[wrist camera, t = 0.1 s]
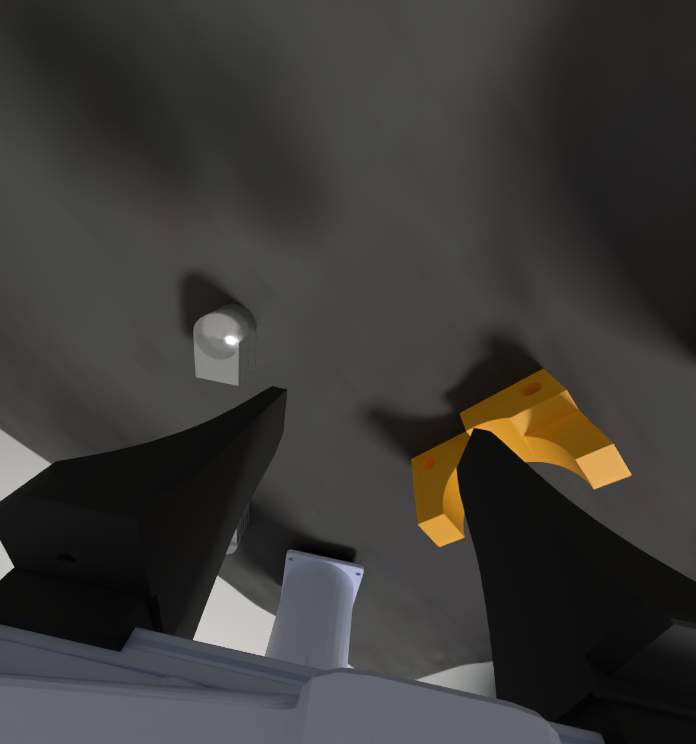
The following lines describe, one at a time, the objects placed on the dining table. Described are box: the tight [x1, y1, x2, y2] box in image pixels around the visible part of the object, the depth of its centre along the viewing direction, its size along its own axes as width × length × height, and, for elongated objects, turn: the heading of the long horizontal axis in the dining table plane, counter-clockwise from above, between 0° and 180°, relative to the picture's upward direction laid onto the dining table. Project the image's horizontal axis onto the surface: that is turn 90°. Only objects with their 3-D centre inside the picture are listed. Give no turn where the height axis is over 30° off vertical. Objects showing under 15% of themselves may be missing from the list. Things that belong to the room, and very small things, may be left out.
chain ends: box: [193, 304, 257, 554], centre depth 26 cm, size 24×3×3 cm, turn 170°
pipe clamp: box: [411, 368, 631, 547], centre depth 21 cm, size 12×4×6 cm, turn 129°
